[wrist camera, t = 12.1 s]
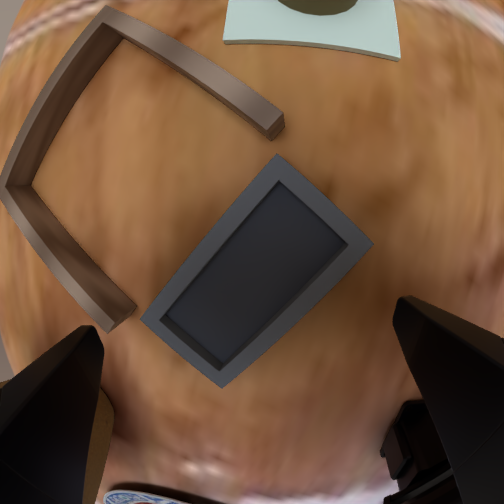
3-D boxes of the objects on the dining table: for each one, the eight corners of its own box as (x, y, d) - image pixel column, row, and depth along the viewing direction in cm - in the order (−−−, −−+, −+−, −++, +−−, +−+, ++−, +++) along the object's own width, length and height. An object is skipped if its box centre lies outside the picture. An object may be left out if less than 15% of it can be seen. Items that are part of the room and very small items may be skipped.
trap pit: (367, 239, 16) (374, 243, 15) (226, 375, 20) (221, 388, 18) (278, 157, 16) (276, 153, 15) (150, 310, 19) (139, 319, 18)
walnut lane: (284, 126, 16) (283, 112, 13) (129, 316, 20) (107, 333, 17) (125, 21, 15) (105, 4, 13) (19, 188, 19) (-5, 190, 16)
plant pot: (18, 317, 22) (-95, 382, 7) (135, 351, 20) (-4, 498, 5) (55, 425, 25) (-16, 499, 10) (161, 467, 23) (101, 581, 8)
